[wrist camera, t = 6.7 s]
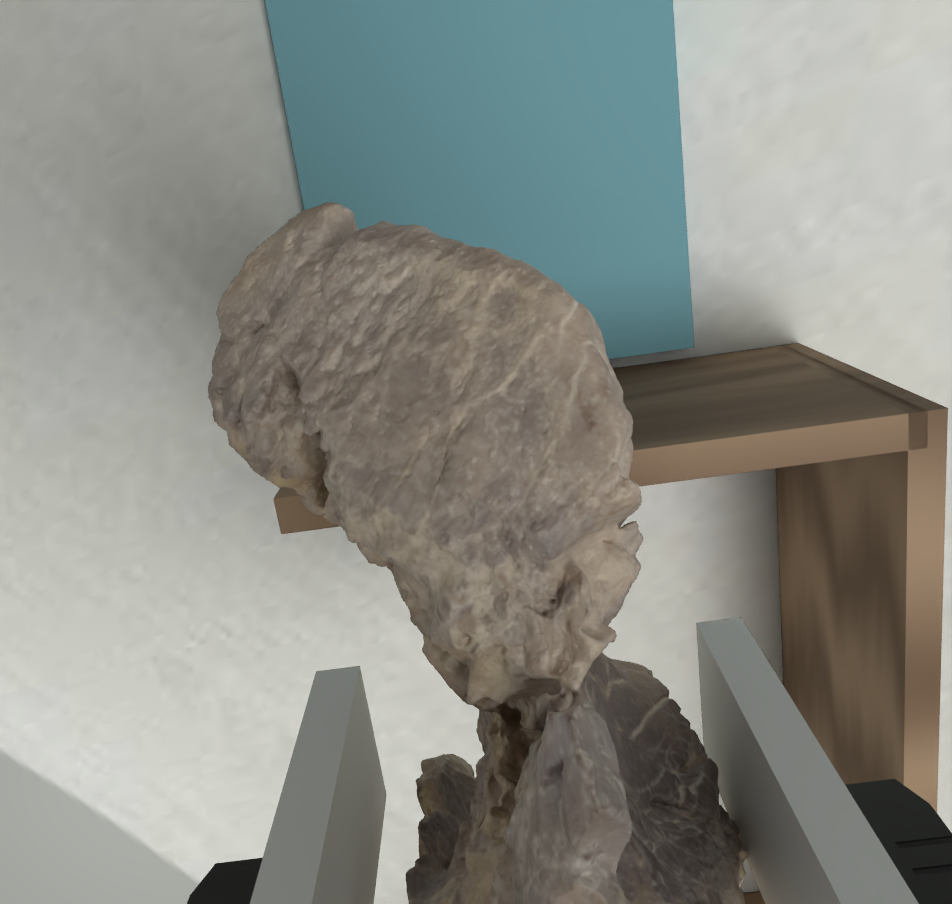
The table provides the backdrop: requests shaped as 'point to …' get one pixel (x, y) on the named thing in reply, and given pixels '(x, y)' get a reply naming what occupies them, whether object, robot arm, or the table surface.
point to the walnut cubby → (817, 533)
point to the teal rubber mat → (505, 138)
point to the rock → (483, 547)
